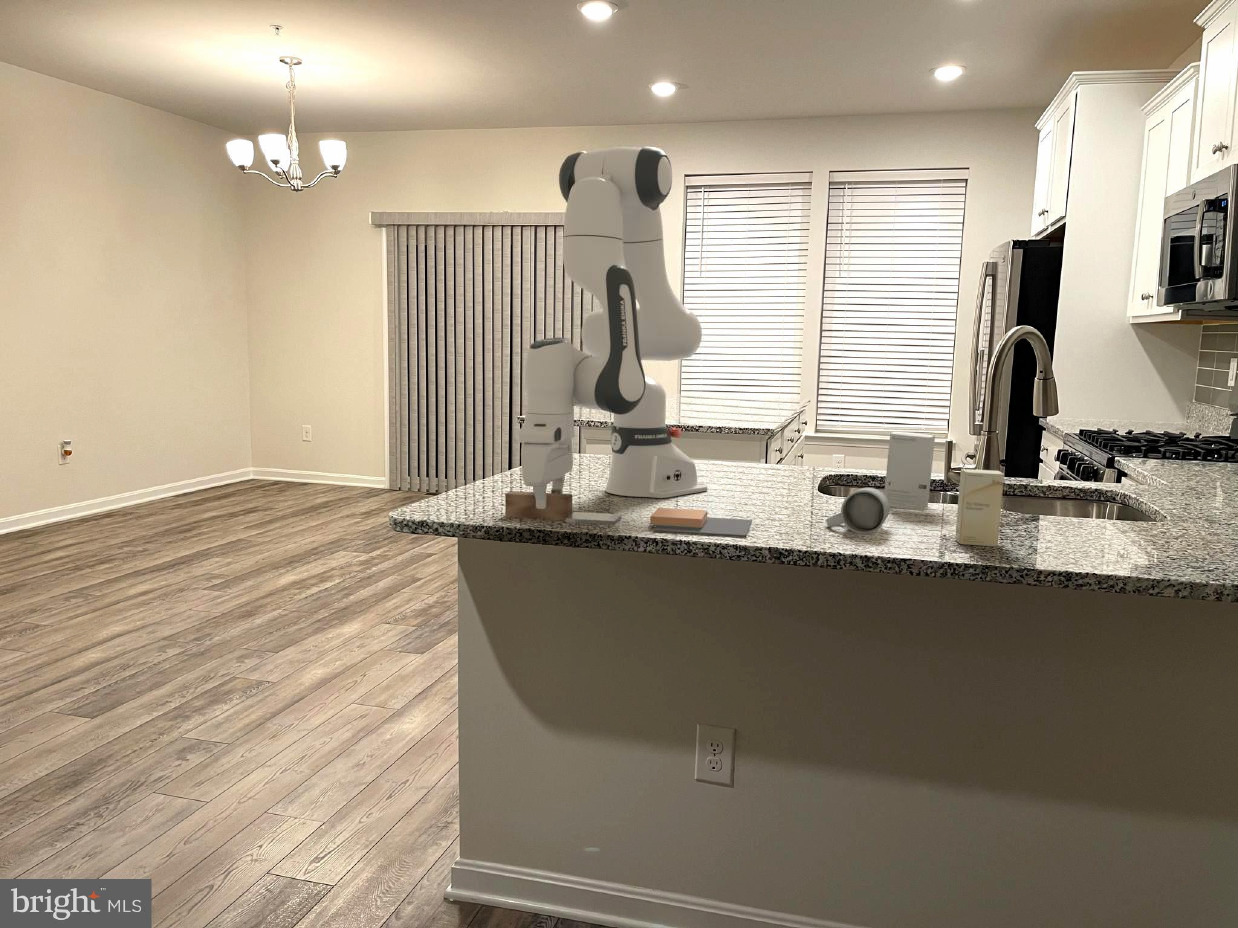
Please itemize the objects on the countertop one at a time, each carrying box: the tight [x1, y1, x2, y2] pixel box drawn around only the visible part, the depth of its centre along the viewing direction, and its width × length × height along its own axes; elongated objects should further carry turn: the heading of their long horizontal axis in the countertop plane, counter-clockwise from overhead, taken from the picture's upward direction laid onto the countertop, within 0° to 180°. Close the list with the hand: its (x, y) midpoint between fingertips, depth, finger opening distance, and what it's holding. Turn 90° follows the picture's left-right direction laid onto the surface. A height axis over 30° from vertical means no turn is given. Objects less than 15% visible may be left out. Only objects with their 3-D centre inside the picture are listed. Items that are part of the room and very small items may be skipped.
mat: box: [652, 516, 753, 538], centre depth 160 cm, size 16×13×1 cm
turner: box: [504, 490, 623, 526], centre depth 165 cm, size 21×6×4 cm, turn 78°
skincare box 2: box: [954, 468, 1005, 547], centre depth 150 cm, size 6×4×12 cm
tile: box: [649, 507, 708, 529], centre depth 161 cm, size 2×8×9 cm
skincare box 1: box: [883, 431, 936, 511], centre depth 180 cm, size 8×6×15 cm
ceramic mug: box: [825, 487, 890, 535], centre depth 160 cm, size 11×8×8 cm
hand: (549, 503), depth 166 cm, fingers open, 8 cm apart
